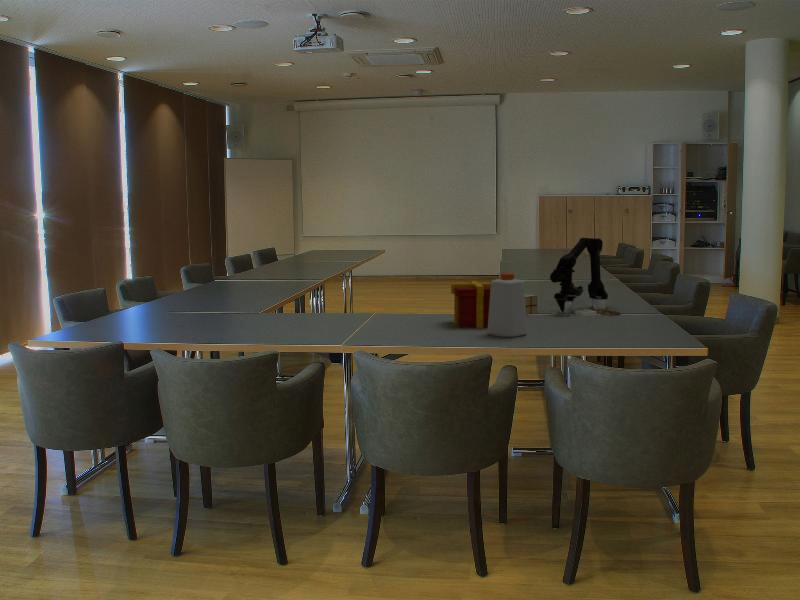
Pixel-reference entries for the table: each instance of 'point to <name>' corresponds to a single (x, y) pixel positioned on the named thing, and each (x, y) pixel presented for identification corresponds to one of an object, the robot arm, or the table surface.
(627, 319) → the table surface
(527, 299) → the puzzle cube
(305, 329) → the table surface
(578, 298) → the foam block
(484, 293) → the gift box
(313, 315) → the table surface
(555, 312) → the tray
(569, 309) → the block
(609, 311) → the pallet board
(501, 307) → the plastic bottle
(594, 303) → the block
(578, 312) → the button console
